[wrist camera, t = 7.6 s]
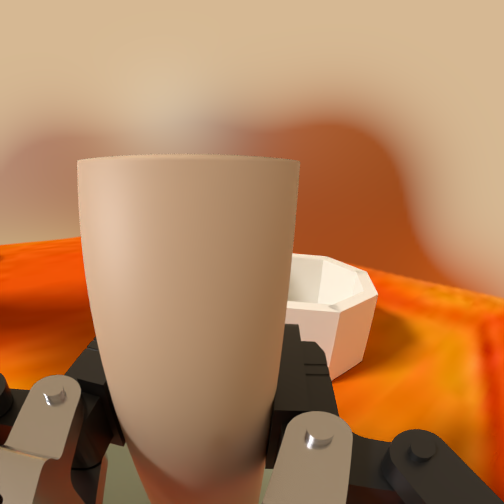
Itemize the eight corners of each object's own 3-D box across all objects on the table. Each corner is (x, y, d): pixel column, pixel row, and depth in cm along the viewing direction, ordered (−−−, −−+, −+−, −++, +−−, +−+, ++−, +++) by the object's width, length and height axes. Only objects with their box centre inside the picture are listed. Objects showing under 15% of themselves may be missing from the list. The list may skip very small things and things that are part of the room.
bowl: (205, 330, 27) (204, 266, 26) (297, 301, 34) (302, 247, 32) (291, 404, 19) (303, 328, 17) (382, 346, 26) (398, 284, 24)
